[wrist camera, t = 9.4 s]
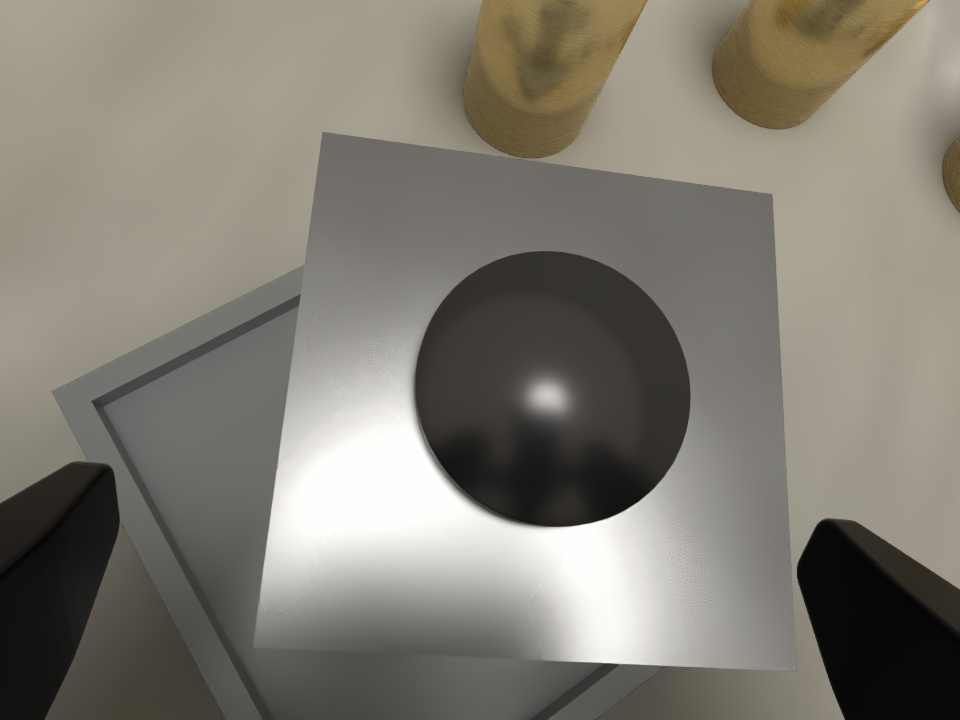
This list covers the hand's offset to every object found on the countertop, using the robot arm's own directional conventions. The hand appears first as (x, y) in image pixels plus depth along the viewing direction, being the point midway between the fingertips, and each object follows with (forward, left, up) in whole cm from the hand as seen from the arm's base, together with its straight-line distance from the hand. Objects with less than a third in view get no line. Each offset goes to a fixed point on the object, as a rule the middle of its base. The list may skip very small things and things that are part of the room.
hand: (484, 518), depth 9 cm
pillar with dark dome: (+1, +1, -8) cm, 8 cm away
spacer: (+9, +9, -8) cm, 15 cm away
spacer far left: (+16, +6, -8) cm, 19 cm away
